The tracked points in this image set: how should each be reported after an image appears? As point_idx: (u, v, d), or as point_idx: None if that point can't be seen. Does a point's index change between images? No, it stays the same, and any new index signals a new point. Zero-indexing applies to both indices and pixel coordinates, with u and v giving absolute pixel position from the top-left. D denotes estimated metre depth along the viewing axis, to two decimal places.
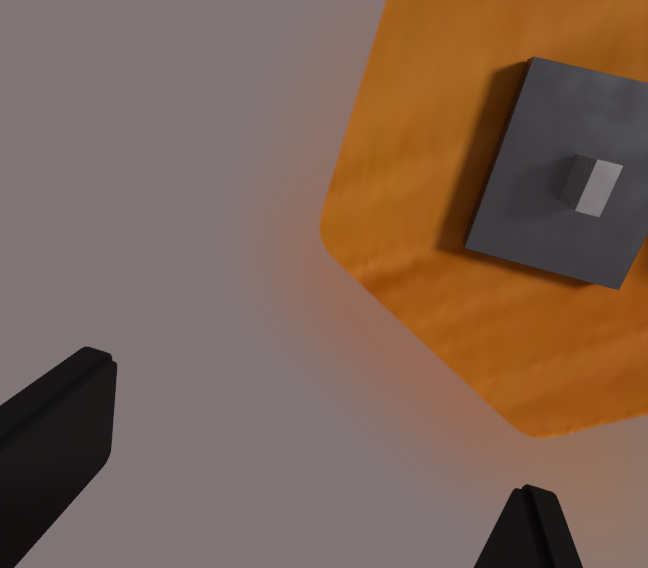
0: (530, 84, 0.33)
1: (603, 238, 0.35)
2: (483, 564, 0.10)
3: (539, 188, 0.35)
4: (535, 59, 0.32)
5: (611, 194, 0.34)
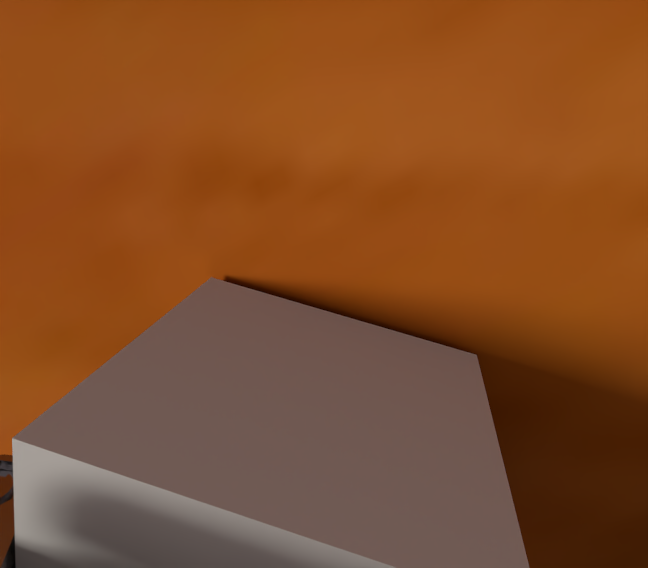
0: None
1: None
2: None
3: None
4: None
5: None
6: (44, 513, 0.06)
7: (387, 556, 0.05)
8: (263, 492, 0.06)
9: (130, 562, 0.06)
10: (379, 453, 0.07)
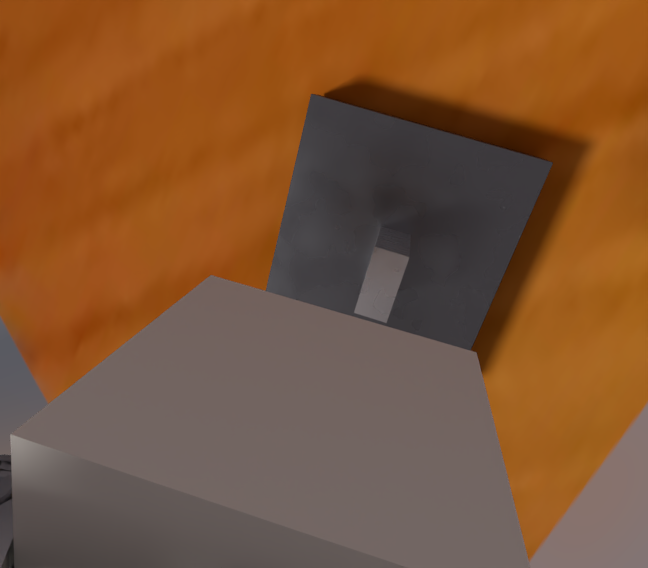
0: None
1: (344, 178, 0.24)
2: None
3: (436, 252, 0.25)
4: None
5: (343, 239, 0.25)
6: (43, 510, 0.06)
7: (386, 552, 0.05)
8: (262, 488, 0.06)
9: (128, 559, 0.06)
10: (378, 449, 0.07)
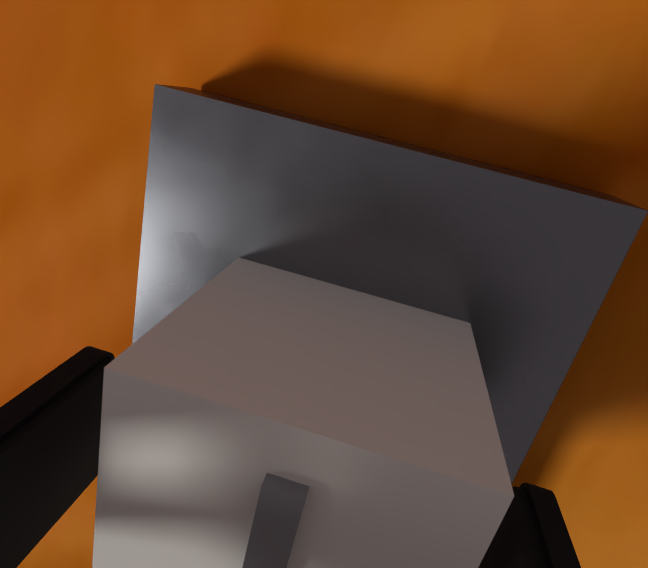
0: None
1: (235, 243, 0.13)
2: (481, 562, 0.10)
3: None
4: None
5: None
6: (125, 430, 0.08)
7: (396, 454, 0.07)
8: (299, 410, 0.07)
9: (192, 469, 0.08)
10: (388, 389, 0.09)
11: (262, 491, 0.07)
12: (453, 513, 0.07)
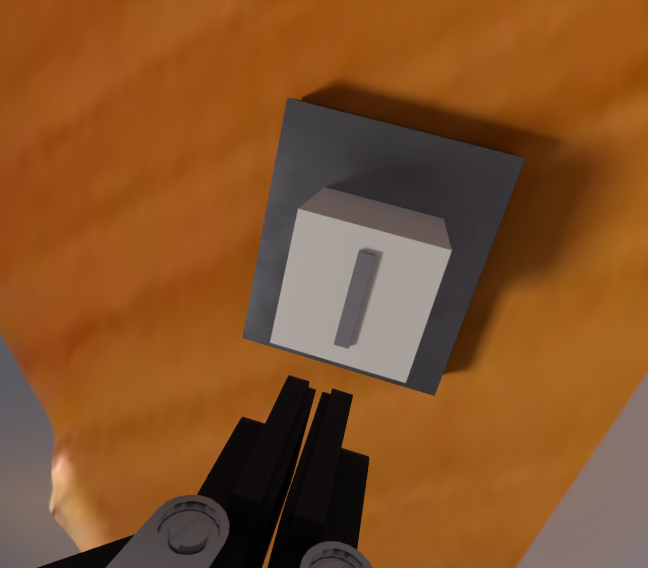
0: (436, 369, 0.27)
1: (323, 179, 0.25)
2: None
3: None
4: (432, 393, 0.28)
5: None
6: (303, 236, 0.20)
7: (409, 238, 0.19)
8: (371, 226, 0.19)
9: (329, 251, 0.20)
10: (404, 227, 0.21)
11: (358, 254, 0.19)
12: (430, 260, 0.19)
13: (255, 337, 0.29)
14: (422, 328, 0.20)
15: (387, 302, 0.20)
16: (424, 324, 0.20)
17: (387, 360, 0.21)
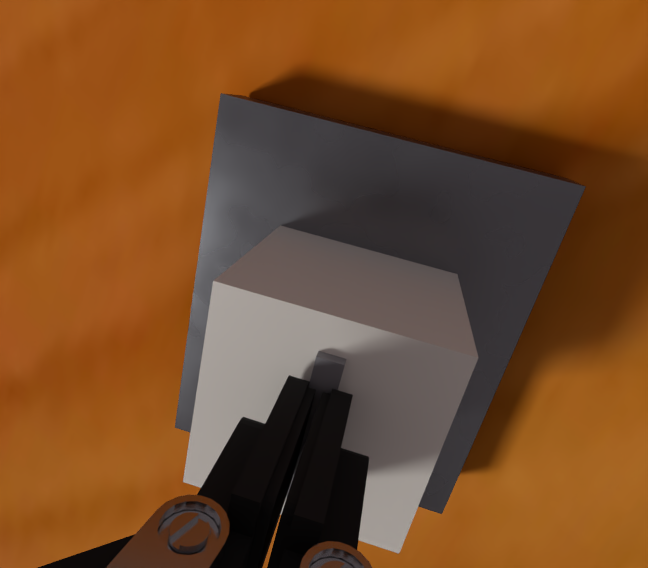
0: (445, 480, 0.19)
1: (278, 214, 0.17)
2: None
3: None
4: (439, 510, 0.20)
5: None
6: (224, 325, 0.12)
7: (403, 334, 0.11)
8: (339, 310, 0.11)
9: (268, 351, 0.12)
10: (397, 304, 0.12)
11: (316, 360, 0.11)
12: (440, 373, 0.11)
13: None
14: (426, 476, 0.12)
15: (368, 434, 0.12)
16: (429, 470, 0.12)
17: (369, 519, 0.13)
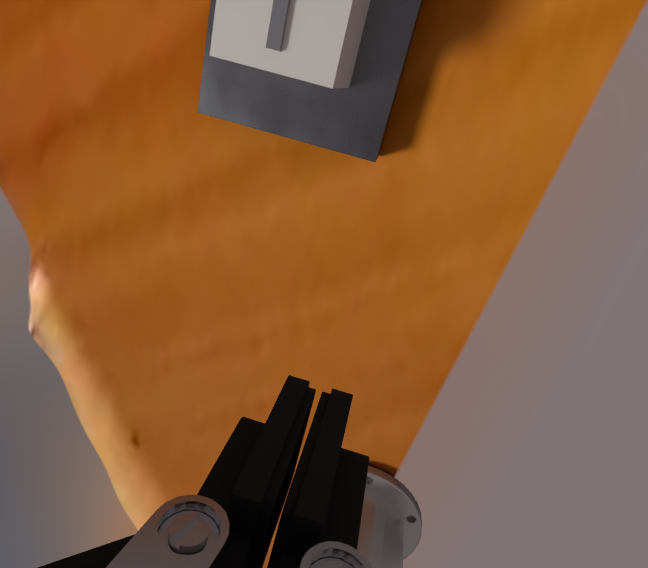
0: (376, 133, 0.29)
1: None
2: None
3: None
4: (373, 159, 0.30)
5: None
6: None
7: None
8: None
9: None
10: None
11: None
12: None
13: (209, 110, 0.31)
14: (345, 24, 0.22)
15: None
16: (346, 20, 0.22)
17: (315, 64, 0.23)
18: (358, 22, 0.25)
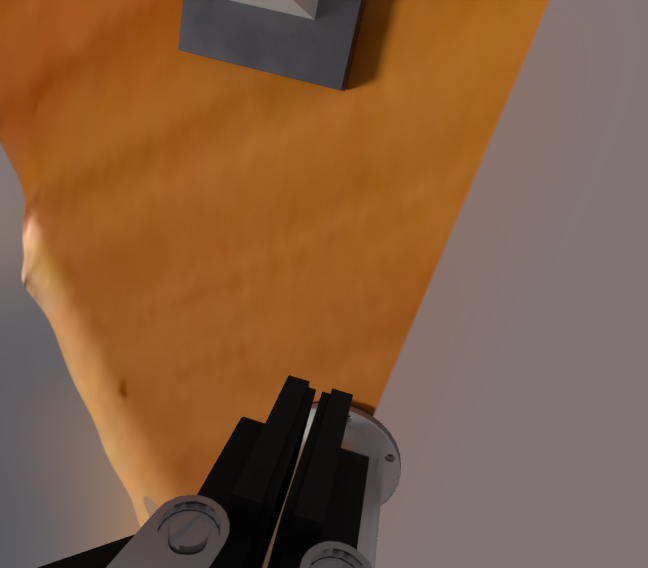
0: (341, 62, 0.32)
1: None
2: None
3: None
4: (338, 87, 0.32)
5: None
6: None
7: None
8: None
9: None
10: None
11: None
12: None
13: (189, 48, 0.33)
14: None
15: None
16: None
17: None
18: None
